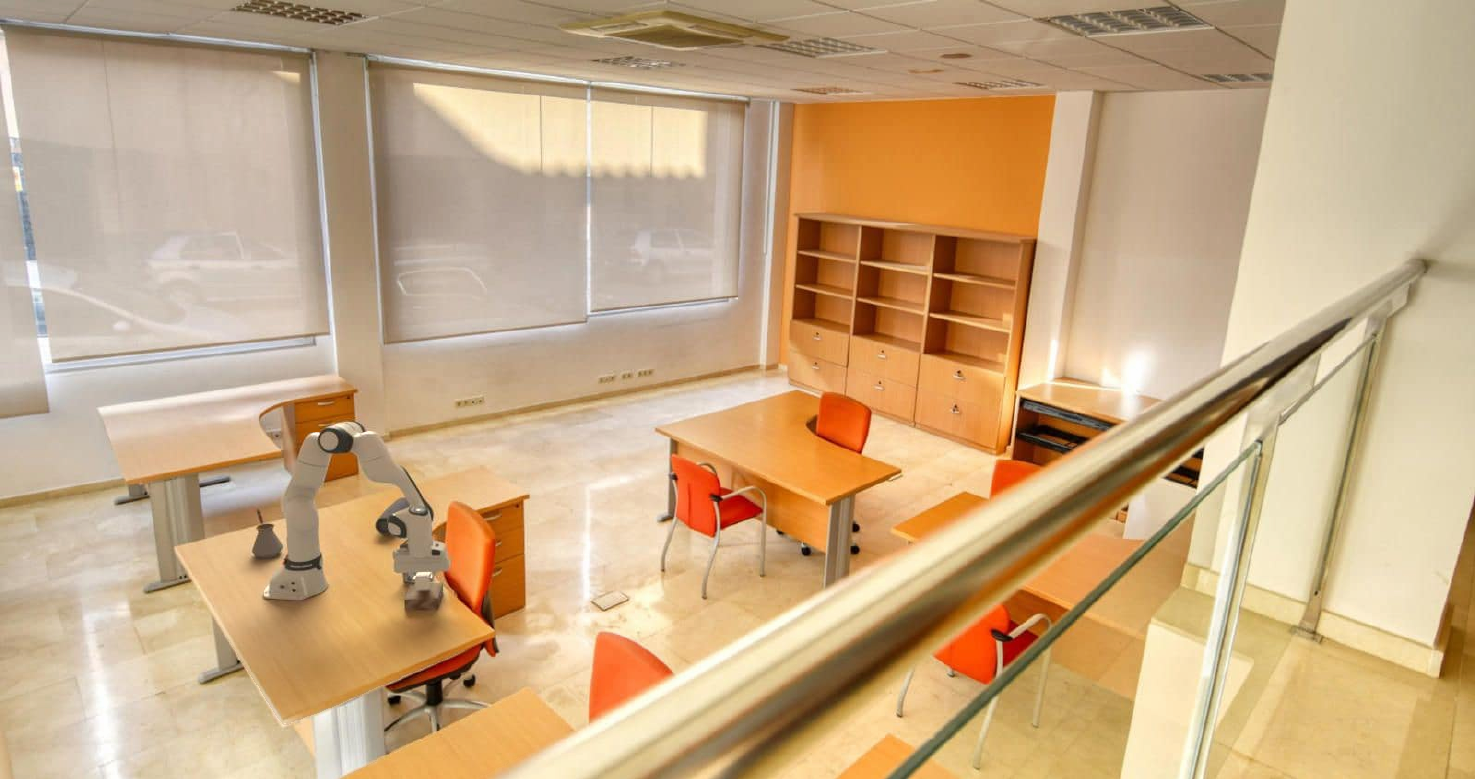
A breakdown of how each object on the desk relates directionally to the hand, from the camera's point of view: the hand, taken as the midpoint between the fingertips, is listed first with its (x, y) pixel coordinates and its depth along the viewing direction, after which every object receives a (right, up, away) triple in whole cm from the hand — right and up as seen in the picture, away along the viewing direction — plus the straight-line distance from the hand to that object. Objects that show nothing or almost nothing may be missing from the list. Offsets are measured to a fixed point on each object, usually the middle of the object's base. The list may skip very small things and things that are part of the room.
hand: (423, 581), depth 332 cm
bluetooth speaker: (-35, +11, +64) cm, 74 cm away
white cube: (0, -2, +1) cm, 2 cm away
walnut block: (0, -9, +2) cm, 9 cm away
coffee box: (-10, -3, +20) cm, 23 cm away
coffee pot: (-80, +5, +37) cm, 88 cm away
